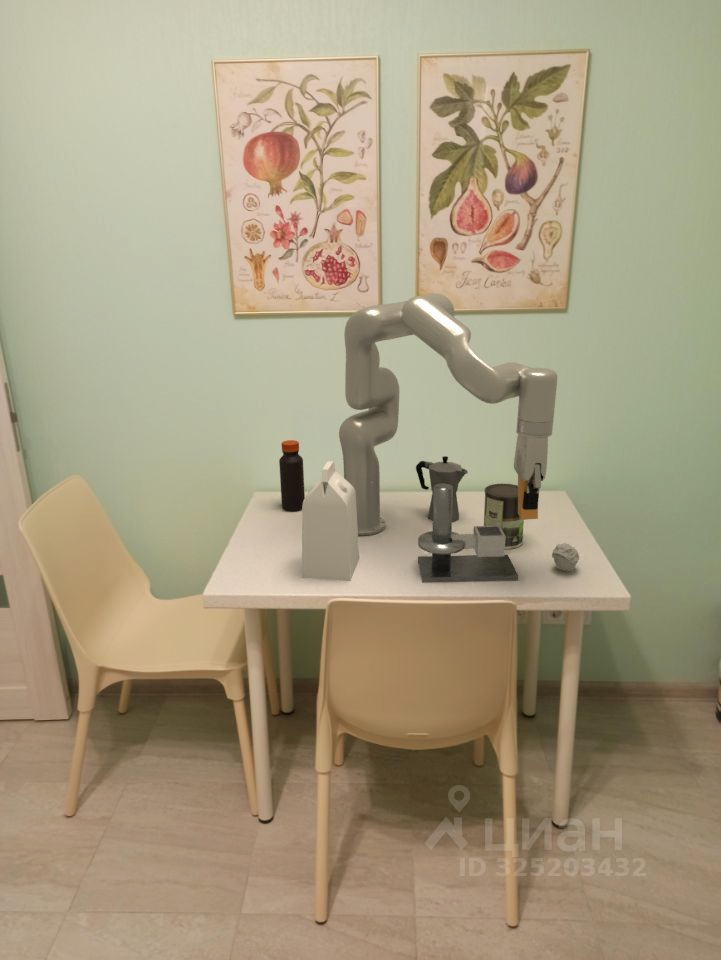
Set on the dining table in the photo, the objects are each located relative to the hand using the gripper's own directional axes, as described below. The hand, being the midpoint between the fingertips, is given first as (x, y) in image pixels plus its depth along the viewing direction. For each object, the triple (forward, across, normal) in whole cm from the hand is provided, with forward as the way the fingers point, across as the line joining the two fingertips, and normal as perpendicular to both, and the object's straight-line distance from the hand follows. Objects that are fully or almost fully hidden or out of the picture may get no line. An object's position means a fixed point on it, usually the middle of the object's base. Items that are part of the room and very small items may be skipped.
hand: (527, 504), depth 153 cm
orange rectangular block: (+3, 0, 0) cm, 3 cm away
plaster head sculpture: (+18, -2, +10) cm, 21 cm away
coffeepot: (+18, -36, -14) cm, 43 cm away
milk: (+18, -6, -44) cm, 48 cm away
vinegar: (+19, -45, -56) cm, 74 cm away
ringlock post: (+18, -3, -12) cm, 22 cm away
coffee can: (+18, -19, 0) cm, 26 cm away
